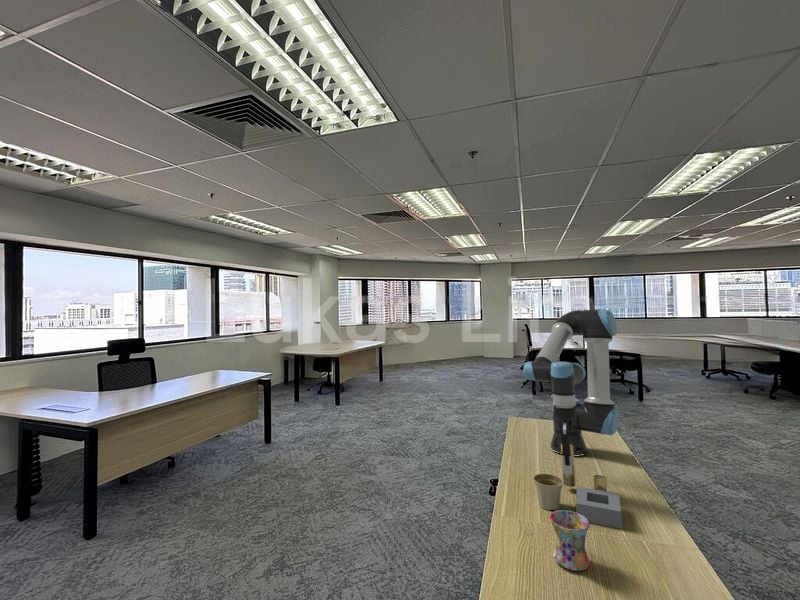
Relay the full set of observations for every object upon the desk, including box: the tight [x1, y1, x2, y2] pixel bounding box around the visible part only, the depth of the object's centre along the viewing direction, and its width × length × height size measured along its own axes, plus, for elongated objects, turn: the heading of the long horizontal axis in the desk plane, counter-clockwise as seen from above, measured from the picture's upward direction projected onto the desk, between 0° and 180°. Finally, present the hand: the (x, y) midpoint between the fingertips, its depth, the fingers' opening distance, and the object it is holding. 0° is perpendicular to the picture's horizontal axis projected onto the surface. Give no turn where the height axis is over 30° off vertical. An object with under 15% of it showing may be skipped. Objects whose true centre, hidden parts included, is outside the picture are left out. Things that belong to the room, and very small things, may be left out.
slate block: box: [575, 486, 623, 530], centre depth 114 cm, size 12×12×5 cm
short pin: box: [592, 474, 608, 491], centre depth 126 cm, size 4×4×6 cm
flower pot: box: [532, 473, 564, 511], centre depth 120 cm, size 9×9×9 cm
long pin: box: [561, 443, 576, 488], centre depth 130 cm, size 4×4×14 cm
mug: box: [549, 509, 591, 572], centre depth 94 cm, size 12×9×11 cm
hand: (568, 470), depth 130 cm, fingers closed on long pin, 4 cm apart
